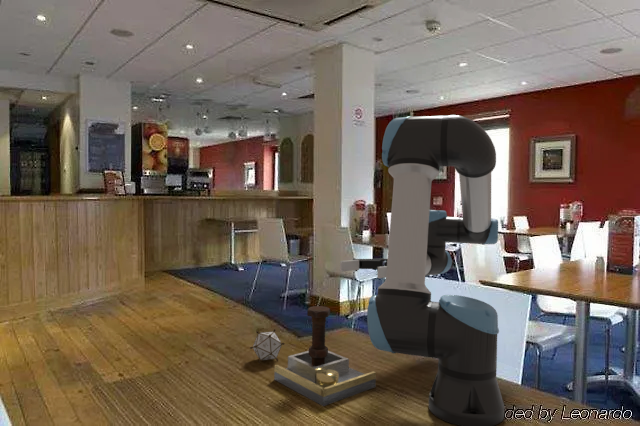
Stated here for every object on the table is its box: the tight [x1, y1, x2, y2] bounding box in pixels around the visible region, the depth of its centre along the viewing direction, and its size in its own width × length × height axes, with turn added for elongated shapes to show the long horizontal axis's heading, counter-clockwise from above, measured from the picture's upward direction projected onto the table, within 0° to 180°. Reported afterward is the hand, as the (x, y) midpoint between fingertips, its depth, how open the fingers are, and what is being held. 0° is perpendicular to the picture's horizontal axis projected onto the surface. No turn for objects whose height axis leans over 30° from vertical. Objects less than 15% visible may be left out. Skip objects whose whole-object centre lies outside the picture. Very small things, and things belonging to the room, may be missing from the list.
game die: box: [249, 328, 286, 364], centre depth 129 cm, size 9×8×10 cm
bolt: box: [306, 305, 331, 366], centre depth 117 cm, size 6×5×15 cm
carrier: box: [273, 350, 377, 407], centre depth 114 cm, size 18×16×5 cm
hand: (358, 269), depth 125 cm, fingers open, 13 cm apart
